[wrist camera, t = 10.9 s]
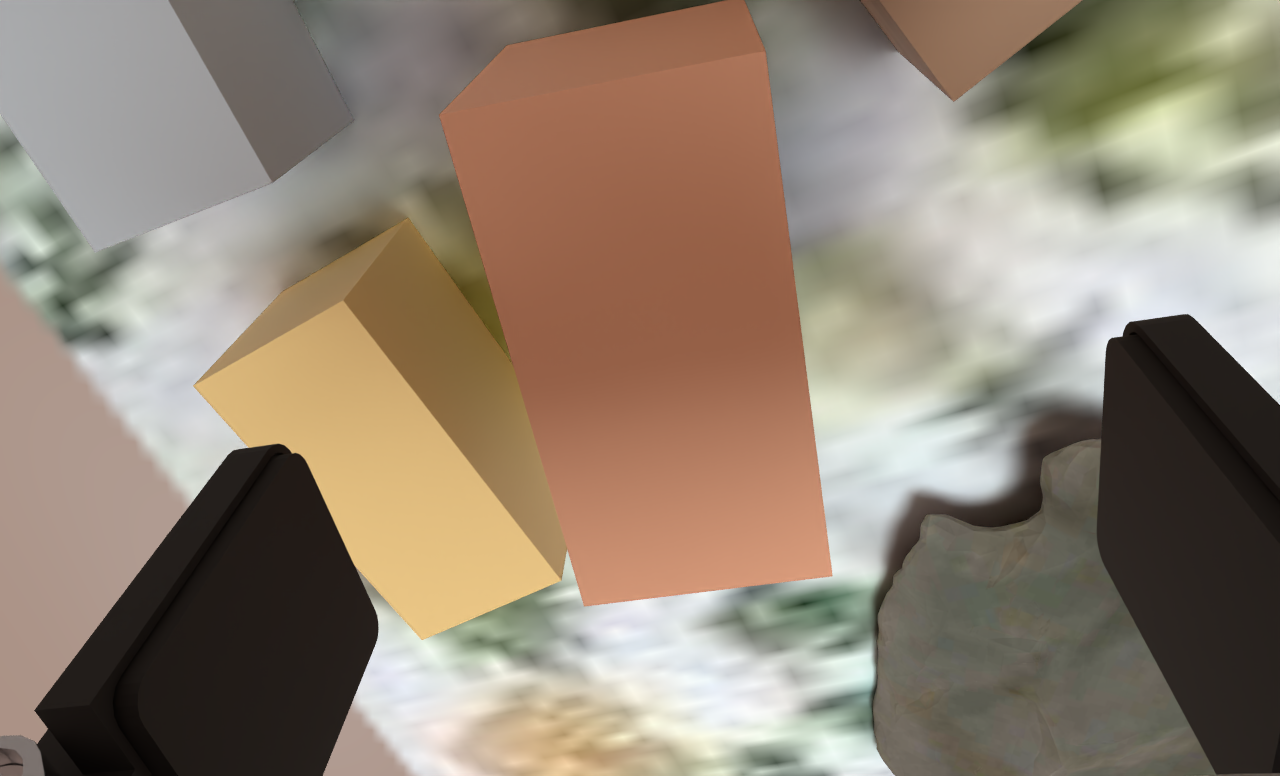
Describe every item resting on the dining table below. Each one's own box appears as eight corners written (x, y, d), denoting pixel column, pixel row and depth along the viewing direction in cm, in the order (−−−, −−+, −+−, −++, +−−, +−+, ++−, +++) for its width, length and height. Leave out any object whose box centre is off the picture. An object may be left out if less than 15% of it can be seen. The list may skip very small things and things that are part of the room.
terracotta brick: (507, 45, 16) (438, 114, 12) (743, -3, 15) (765, 51, 11) (606, 441, 20) (583, 606, 15) (799, 413, 19) (832, 576, 15)
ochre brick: (283, 290, 24) (193, 386, 20) (409, 216, 23) (343, 300, 18) (464, 514, 27) (421, 640, 23) (582, 459, 26) (561, 580, 22)
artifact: (956, 356, 24) (804, 744, 32) (993, 435, 21) (813, 849, 28) (1464, 459, 25) (1198, 821, 32) (1582, 554, 21) (1254, 936, 28)
